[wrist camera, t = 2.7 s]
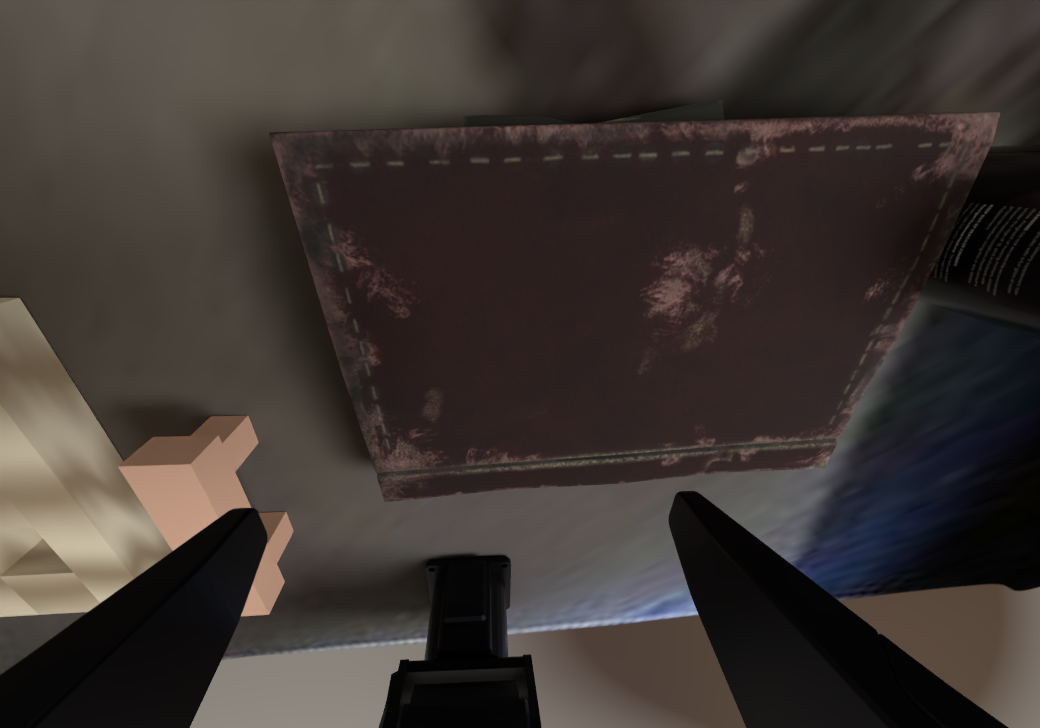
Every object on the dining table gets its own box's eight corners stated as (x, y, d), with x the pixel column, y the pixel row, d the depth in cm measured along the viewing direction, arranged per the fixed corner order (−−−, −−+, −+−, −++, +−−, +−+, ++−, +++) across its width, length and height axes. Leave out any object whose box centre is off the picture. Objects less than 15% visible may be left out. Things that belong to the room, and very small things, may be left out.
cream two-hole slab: (188, 564, 27) (156, 607, 25) (36, 571, 26) (-14, 617, 24) (19, 297, 18) (-62, 322, 15) (-227, 297, 17) (-360, 323, 14)
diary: (768, 426, 26) (824, 481, 22) (403, 452, 25) (385, 517, 20) (895, 97, 17) (1038, 80, 12) (320, 113, 16) (254, 100, 11)
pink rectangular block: (304, 540, 27) (269, 614, 23) (260, 542, 27) (215, 618, 22) (251, 400, 21) (190, 464, 17) (194, 401, 21) (117, 466, 17)
